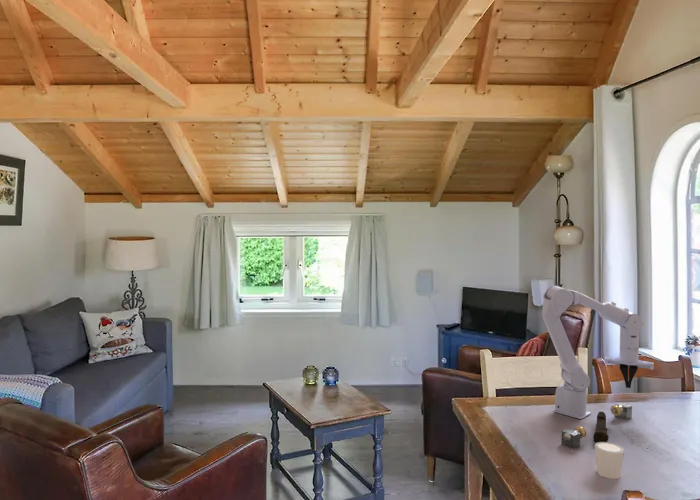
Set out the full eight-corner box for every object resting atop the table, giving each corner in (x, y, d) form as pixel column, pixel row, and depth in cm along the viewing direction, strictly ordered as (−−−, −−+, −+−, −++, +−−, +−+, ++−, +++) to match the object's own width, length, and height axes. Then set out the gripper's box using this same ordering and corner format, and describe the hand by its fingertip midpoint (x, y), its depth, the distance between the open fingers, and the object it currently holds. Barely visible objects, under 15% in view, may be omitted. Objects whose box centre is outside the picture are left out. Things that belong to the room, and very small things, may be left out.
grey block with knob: (620, 421, 169) (621, 407, 169) (609, 417, 172) (609, 404, 172) (632, 417, 172) (632, 403, 172) (620, 413, 176) (621, 400, 176)
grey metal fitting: (574, 439, 154) (575, 424, 154) (587, 444, 151) (587, 428, 151) (560, 444, 151) (560, 429, 150) (572, 449, 147) (572, 433, 147)
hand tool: (608, 447, 150) (608, 431, 150) (592, 444, 152) (593, 428, 152) (610, 425, 166) (611, 411, 166) (597, 423, 168) (597, 409, 168)
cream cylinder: (588, 467, 136) (589, 441, 136) (613, 466, 137) (614, 441, 136) (603, 480, 129) (604, 453, 129) (629, 479, 130) (630, 452, 130)
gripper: (604, 347, 175) (603, 386, 175) (653, 352, 167) (652, 393, 168) (606, 343, 181) (605, 381, 181) (654, 348, 173) (653, 388, 174)
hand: (628, 387), depth 175 cm, fingers closed
